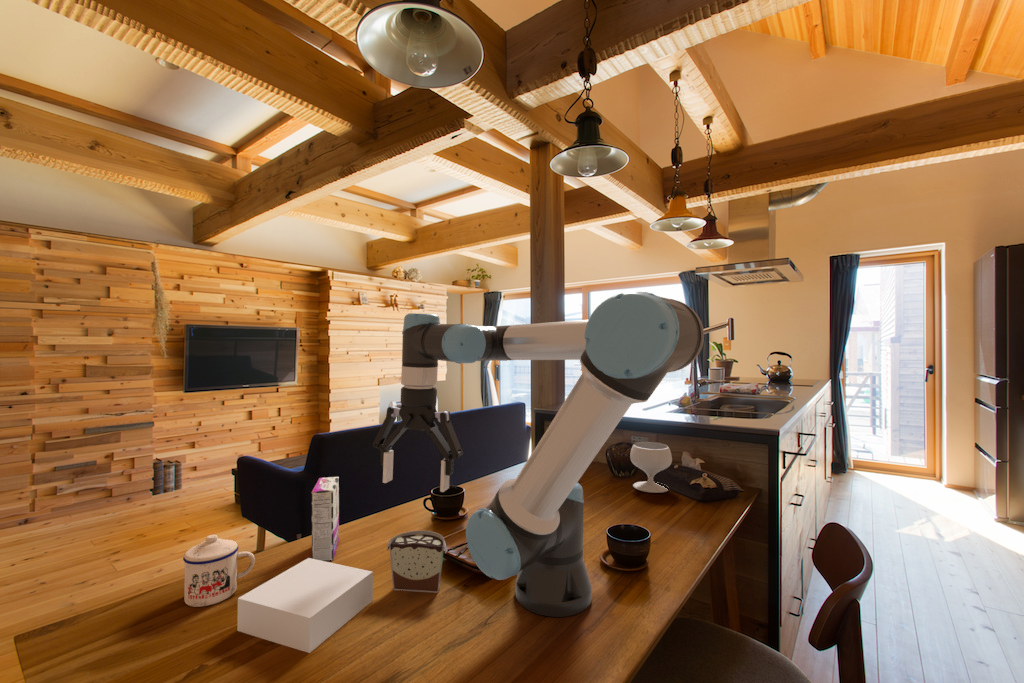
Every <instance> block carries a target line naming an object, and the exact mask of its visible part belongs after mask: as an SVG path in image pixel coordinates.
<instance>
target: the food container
mask: <svg viewBox="0 0 1024 683" xmlns="http://www.w3.org/2000/svg"><path fill="white" fill-rule="evenodd" d="M386 546H387V548H386V551H389V557H390V567H391V568H390V569H391V578H392V588H393V589H392V590H393V591H400V590H401V591H402V590H403V591H402V592H419V593H434V594H435V593H437V594H439V592H440V590H441V589H440V587H441V581H442V580H441V579H442V578H441V577H442V569H443V560H444V554H447V550H448V549H447V544H446V541H445V538H444V536H443V535H441V534H440V533H438V532H435V531H432V530H431V531H430V530H412V531H411V530H410V531H406V532H402V533H399V534H397V535H395V536H393V537H391V538H390V539H389V540H388V543H387V545H386Z"/></svg>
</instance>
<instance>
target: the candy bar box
mask: <svg viewBox="0 0 1024 683" xmlns="http://www.w3.org/2000/svg"><path fill="white" fill-rule="evenodd" d="M339 479H340V477H339V476H328V477H319V478H318V480H317V482H316V484H315V485H314V487H313V489H312V491H311V558H312V559H316V560H321V561H326V562H333V561H334V560H335V555H336V552H337V549H338V545H339V543H340V493H339V492H340V487H339V486H340V485H339ZM330 560H331V561H330Z"/></svg>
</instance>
